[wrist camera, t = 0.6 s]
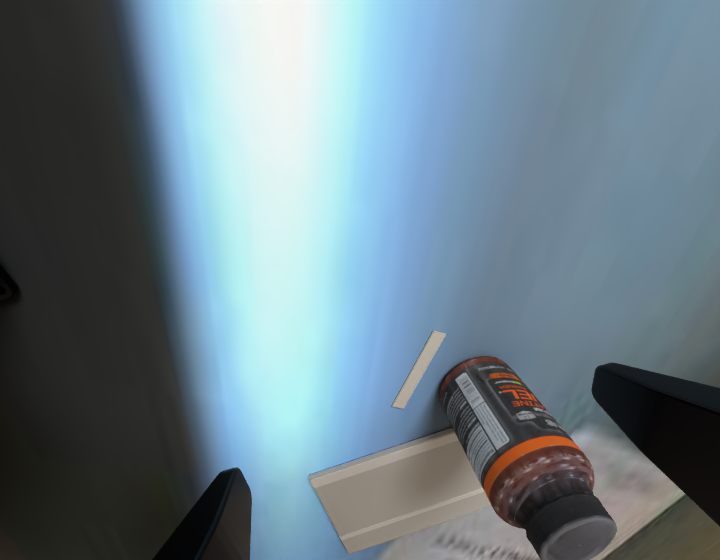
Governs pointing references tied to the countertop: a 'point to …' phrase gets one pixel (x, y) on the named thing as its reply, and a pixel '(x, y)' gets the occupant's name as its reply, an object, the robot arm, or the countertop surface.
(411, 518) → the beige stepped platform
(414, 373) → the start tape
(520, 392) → the supplement bottle
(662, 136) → the countertop surface
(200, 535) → the robot arm
